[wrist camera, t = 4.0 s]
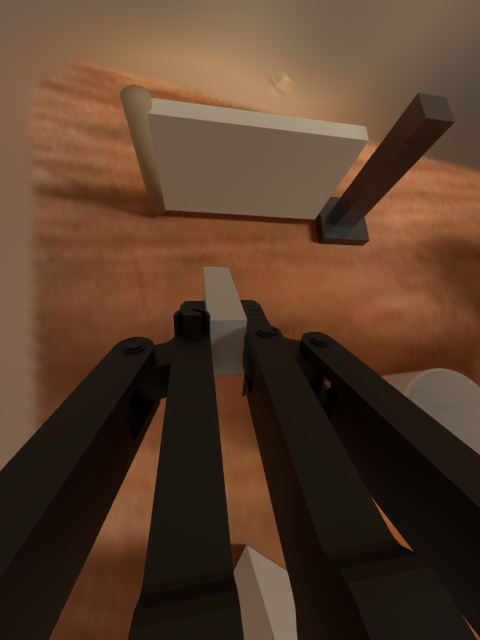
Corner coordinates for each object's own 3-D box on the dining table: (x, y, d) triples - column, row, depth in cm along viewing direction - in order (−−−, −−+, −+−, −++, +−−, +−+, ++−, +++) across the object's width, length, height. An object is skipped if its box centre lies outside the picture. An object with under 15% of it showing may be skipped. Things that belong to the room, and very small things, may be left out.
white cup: (310, 410, 25) (377, 424, 16) (357, 360, 28) (440, 345, 18) (365, 473, 25) (469, 527, 15) (408, 415, 27) (523, 431, 17)
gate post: (355, 205, 33) (459, 84, 20) (363, 245, 32) (481, 142, 18) (313, 202, 32) (392, 72, 19) (319, 243, 31) (410, 133, 17)
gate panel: (311, 209, 31) (368, 118, 20) (313, 223, 30) (373, 137, 20) (151, 198, 28) (121, 83, 17) (150, 213, 27) (119, 104, 17)
